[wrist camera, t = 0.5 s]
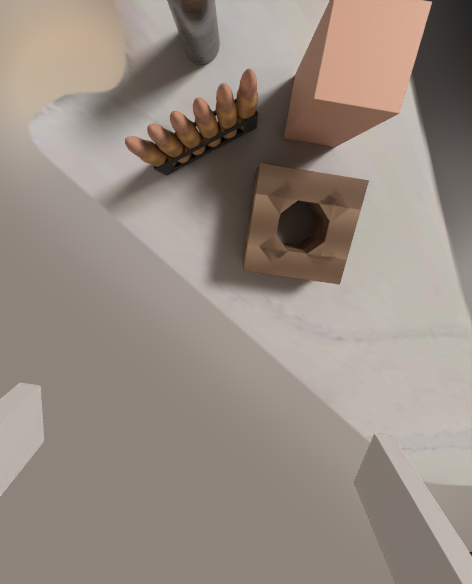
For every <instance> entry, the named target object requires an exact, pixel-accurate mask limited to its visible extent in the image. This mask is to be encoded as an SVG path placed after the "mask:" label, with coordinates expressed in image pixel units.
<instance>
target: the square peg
mask: <svg viewBox="0 0 472 584" xmlns="http://www.w3.org/2000/svg"><path fill="white" fill-rule="evenodd" d="M431 3H432V2H428V1H423V0H330V1H329V3H328V5H327V8H326V10H325V12H324V14H323V16H322V18H321V20H320V23H319V25H318V27H317V29H316V31H315V33H314V35H313V38H312V40H311V42H310V44H309V46H308V48H307V50H306V53H305V55H304V57H303V59H302V61H301V63H300V66H299V68H298V70H297V72H296V74H295V78H294V83H293V89H292V94H291V100H290V105H289V111H288V117H287V122H286V128H285V133H284V139H290V140H296V141H302V142H308V143H314V144H320V145H326V146H332V147H336V146H338V145H340V144H342V143H344V142H346V141H348V140H350V139H352V138H353V137H355V136H357V135H359V134H361V133H363V132H365V131H367V130H369V129H371V128H372V127H374V126H376V125H378V124H380V123H382V122H384V121H386V120H388V119H390V118H391V117H393V116H395V115H397V114H399V113H400V110H401V106H402V103H403V100H404V96H405V93H406V89H407V86H408V82H409V79H410V76H411V72H412V69H413V65H414V61H415V58H416V55H417V52H418V48H419V44H420V41H421V38H422V34H423V31H424V28H425V24H426V20H427V17H428V14H429V11H430V7H431Z"/></svg>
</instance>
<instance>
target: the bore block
mask: <svg viewBox="0 0 472 584" xmlns="http://www.w3.org/2000/svg"><path fill="white" fill-rule="evenodd" d="M368 182H369V180H363V179H356V178H350V177H344V176H338V175H331V174H325V173H319V172H313V171H307V170H300V169H294V168H288V167H282V166H275V165H269V164H263V163H260V165H259V166H258V168H257V171H256V178H255V184H254V190H253V197H252V203H251V210H250V216H249V222H248V229H247V235H246V242H245V248H244V254H243V271H250V272H257V273H264V274H271V275H278V276H285V277H292V278H299V279H306V280H313V281H320V282H327V283H334V284H340V282H341V278H342V275H343V271H344V268H345V264H346V260H347V257H348V253H349V250H350V246H351V242H352V239H353V235H354V232H355V228H356V225H357V221H358V217H359V214H360V210H361V207H362V203H363V200H364V196H365V192H366V189H367V185H368ZM296 201H298V202H305V203H307V205H308V206H309V208H310V209H311V211H312V213H313V214H314V216H315V217H316V219H315V223H314V227H313V232H312V235H311V236H310V237H309V238H307V239H306V240H304V241H303V242H302V243H300V244H299V245H297V246H295V245H289V244H282V242H281V241H280V239H279V238H278V236H277V235H276V234H277V228H278V223H279V218H280V213H282V212H283V211H284V210H286V209H287V208H288V207H290V206H291V205H292V204H294V203H295V202H296Z"/></svg>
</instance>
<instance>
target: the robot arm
mask: <svg viewBox="0 0 472 584" xmlns="http://www.w3.org/2000/svg"><path fill="white" fill-rule="evenodd" d="M43 442H44V431H43V417H42V402H41V386H39V385H32V384H25V383H19V384H18V385H17V386H15V387H14V388H13V389H12V390H10V391H9V392H8V393H7V394H6V395H5V396H3V397H2V398H1V399H0V496H1V495H2V494H3V492H4V491H5V490H6V489H7V487H8V486H9V485H10V484H11V482H12V481H13V480H14V479H15V477H16V476H17V475H18V474H19V472H20V471H21V470H22V469H23V467H24V466H25V465H26V463H27V462H28V461H29V459H30V458H31V457H32V456H33V455H34V453H35V452H36V451H37V450H38V448H39V447H40V446H41V445H42V443H43ZM354 484H355V487H356V489H357V492H358V494H359V497H360V499H361V502H362V504H363V506H364V509H365V511H366V514H367V516H368V519H369V521H370V524H371V526H372V528H373V531H374V533H375V536H376V538H377V541H378V543H379V545H380V548H381V550H382V553H383V555H384V558H385V560H386V563H387V565H388V568H389V570H390V572H391V575H392V577H393V580H394V582H395V584H472V552H469V551H468V550H467V548H466V547H465V545H464V544H463V542H462V541H461V539H460V538H459V536H458V535H457V533H456V531H455V530H454V528H453V527H452V525H451V524H450V522H449V521H448V519H447V518H446V516H445V515H444V513H443V512H442V510H441V509H440V507H439V506H438V504H437V502H436V501H435V500H434V498H433V496H432V495H431V493H430V492H429V490H428V489H427V487H426V486H425V484H424V483H423V481H422V480H421V478H420V476H419V475H418V473H417V472H416V470H415V469H414V467H413V466H412V464H411V463H410V461H409V460H408V458H407V457H406V455H405V454H404V452H403V451H402V449H401V447H400V446H399V444H398V443H397V441H396V440H395V438H394V437H393V436H391V435H384V434H377V433H374V436H373V438H372V440H371V443H370V445H369V447H368V450H367V452H366V454H365V457H364V459H363V461H362V464H361V466H360V468H359V471H358V473H357V476H356V478H355V481H354Z"/></svg>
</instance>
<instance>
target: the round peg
mask: <svg viewBox="0 0 472 584" xmlns="http://www.w3.org/2000/svg"><path fill="white" fill-rule="evenodd" d="M167 1H168V4H169V7H170V10H171V12H172V15H173V18H174V21H175V24H176V26H177V29H178V32H179V35H180V38H181V41H182V43H183V46H184V49H185V52H186V54H187V56H188V57H189V58H190V59H191V60H192V61H193V62H195V63H197V64H201V65H203V64H208V63H210V62H211V61H212V60H213V59H214V58H215V57H216V55H217V53H218V50H219V44H220V42H219V32H218V24H217V15H216V6H215V0H167Z"/></svg>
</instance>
